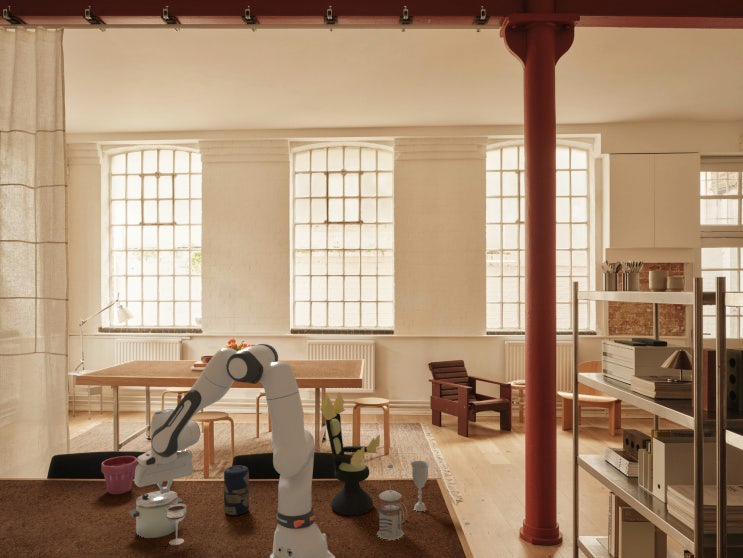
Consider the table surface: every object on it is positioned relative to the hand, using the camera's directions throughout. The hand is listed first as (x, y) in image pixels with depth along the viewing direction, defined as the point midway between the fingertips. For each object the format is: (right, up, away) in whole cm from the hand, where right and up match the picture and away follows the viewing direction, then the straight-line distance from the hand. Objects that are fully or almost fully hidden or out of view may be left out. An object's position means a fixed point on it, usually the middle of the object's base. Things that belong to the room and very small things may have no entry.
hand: (164, 492), depth 204 cm
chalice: (+94, -14, +18) cm, 97 cm away
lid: (-3, -3, +1) cm, 5 cm away
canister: (+22, -14, +16) cm, 31 cm away
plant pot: (-34, -14, +39) cm, 53 cm away
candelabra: (+65, -14, +20) cm, 69 cm away
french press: (+82, -14, -4) cm, 83 cm away
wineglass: (+7, -14, -8) cm, 18 cm away
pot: (-3, -14, +1) cm, 14 cm away
